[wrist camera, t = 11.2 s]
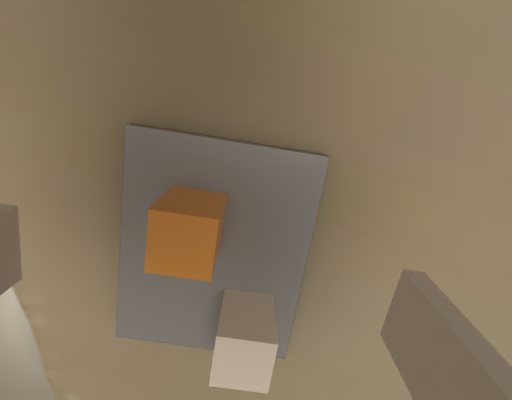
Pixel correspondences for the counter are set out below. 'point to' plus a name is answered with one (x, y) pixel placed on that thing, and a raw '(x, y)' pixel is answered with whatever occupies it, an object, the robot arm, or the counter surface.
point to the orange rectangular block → (185, 233)
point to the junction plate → (221, 249)
